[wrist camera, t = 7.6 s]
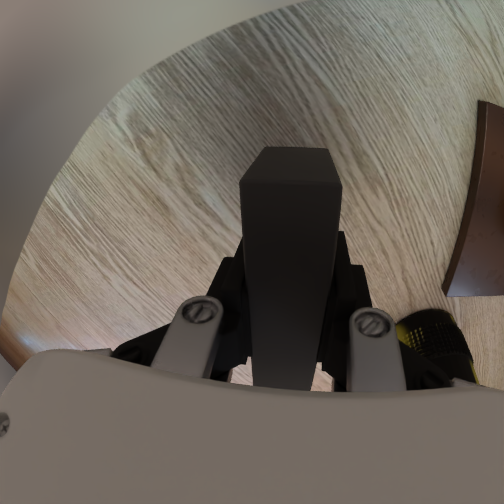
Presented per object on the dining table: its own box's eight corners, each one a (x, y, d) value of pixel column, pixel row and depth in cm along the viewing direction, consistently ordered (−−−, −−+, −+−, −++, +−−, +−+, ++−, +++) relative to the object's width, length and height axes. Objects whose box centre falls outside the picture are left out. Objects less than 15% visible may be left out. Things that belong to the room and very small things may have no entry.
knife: (264, 145, 9) (238, 179, 6) (328, 148, 9) (343, 184, 6) (267, 420, 20) (259, 464, 16) (294, 423, 19) (289, 467, 16)
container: (374, 322, 30) (381, 597, 4) (457, 294, 26) (521, 550, 1) (385, 371, 34) (388, 577, 9) (454, 349, 30) (487, 548, 5)
